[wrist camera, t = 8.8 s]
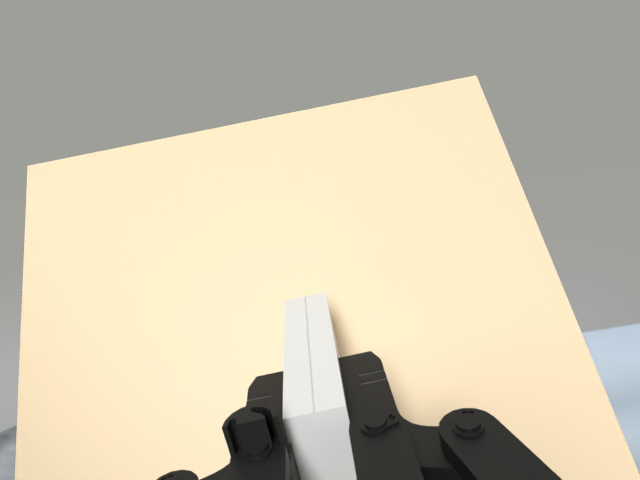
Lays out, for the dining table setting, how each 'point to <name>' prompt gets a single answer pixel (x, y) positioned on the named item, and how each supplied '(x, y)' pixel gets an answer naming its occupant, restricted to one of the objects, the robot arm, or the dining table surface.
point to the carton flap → (295, 286)
